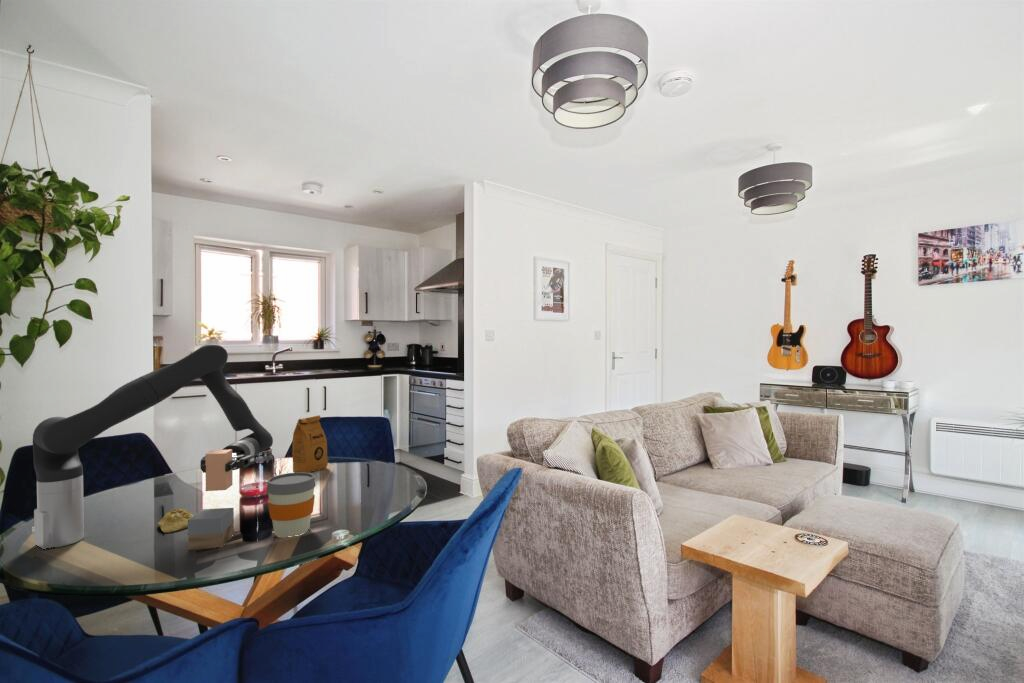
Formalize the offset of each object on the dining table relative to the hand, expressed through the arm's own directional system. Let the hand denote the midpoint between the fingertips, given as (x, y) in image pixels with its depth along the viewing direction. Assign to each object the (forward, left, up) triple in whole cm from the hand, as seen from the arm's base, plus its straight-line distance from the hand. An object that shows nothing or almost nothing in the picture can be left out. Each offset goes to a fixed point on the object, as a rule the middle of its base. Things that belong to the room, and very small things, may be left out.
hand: (215, 468), depth 136 cm
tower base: (-2, -2, -19) cm, 19 cm away
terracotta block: (+2, +2, -6) cm, 7 cm away
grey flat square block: (-2, -2, -15) cm, 16 cm away
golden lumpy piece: (0, +19, -20) cm, 27 cm away
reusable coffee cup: (+13, -14, -19) cm, 27 cm away
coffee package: (+58, +36, -19) cm, 71 cm away
